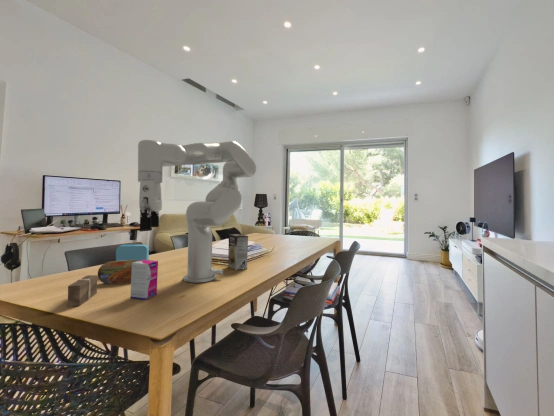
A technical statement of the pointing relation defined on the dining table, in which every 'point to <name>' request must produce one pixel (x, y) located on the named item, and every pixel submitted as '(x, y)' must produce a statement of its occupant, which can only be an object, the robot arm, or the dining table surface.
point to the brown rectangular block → (82, 290)
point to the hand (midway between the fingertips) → (149, 228)
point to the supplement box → (144, 279)
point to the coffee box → (238, 251)
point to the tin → (116, 272)
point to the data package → (132, 252)
